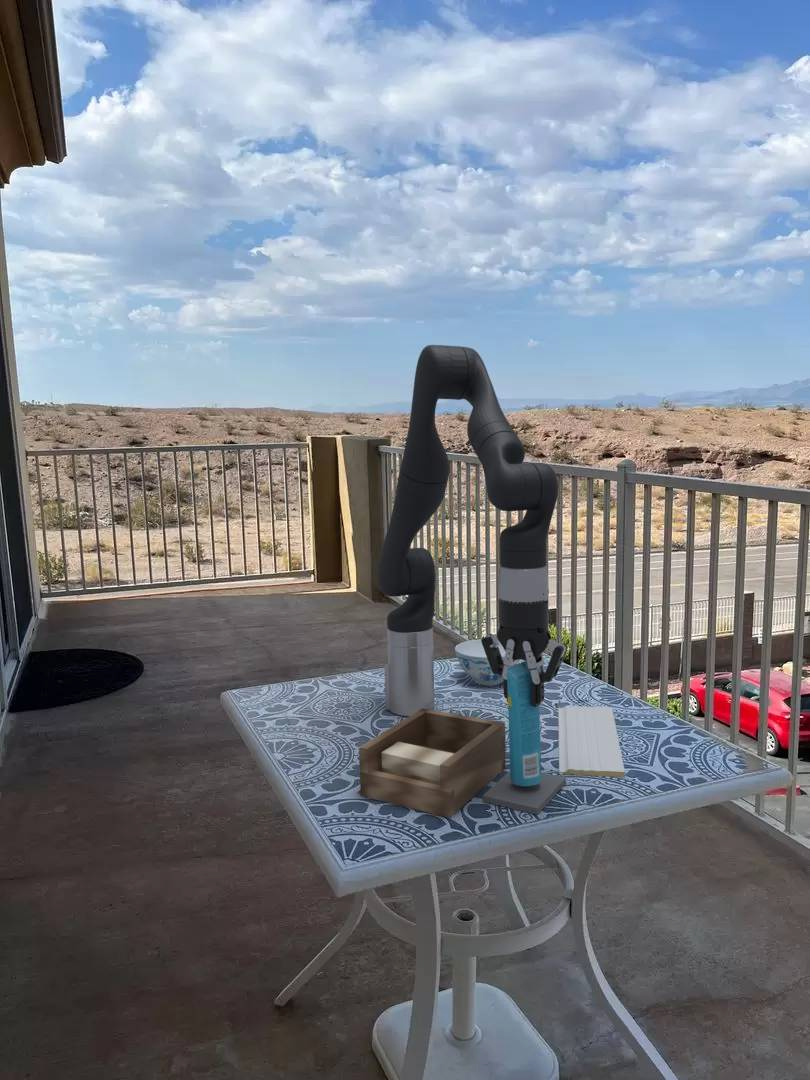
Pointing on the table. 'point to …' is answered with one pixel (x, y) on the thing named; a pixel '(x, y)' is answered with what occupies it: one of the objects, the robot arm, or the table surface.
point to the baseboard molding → (589, 741)
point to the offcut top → (414, 760)
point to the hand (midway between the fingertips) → (524, 702)
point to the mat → (524, 793)
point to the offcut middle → (410, 776)
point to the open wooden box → (460, 774)
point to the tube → (523, 728)
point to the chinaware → (478, 662)
